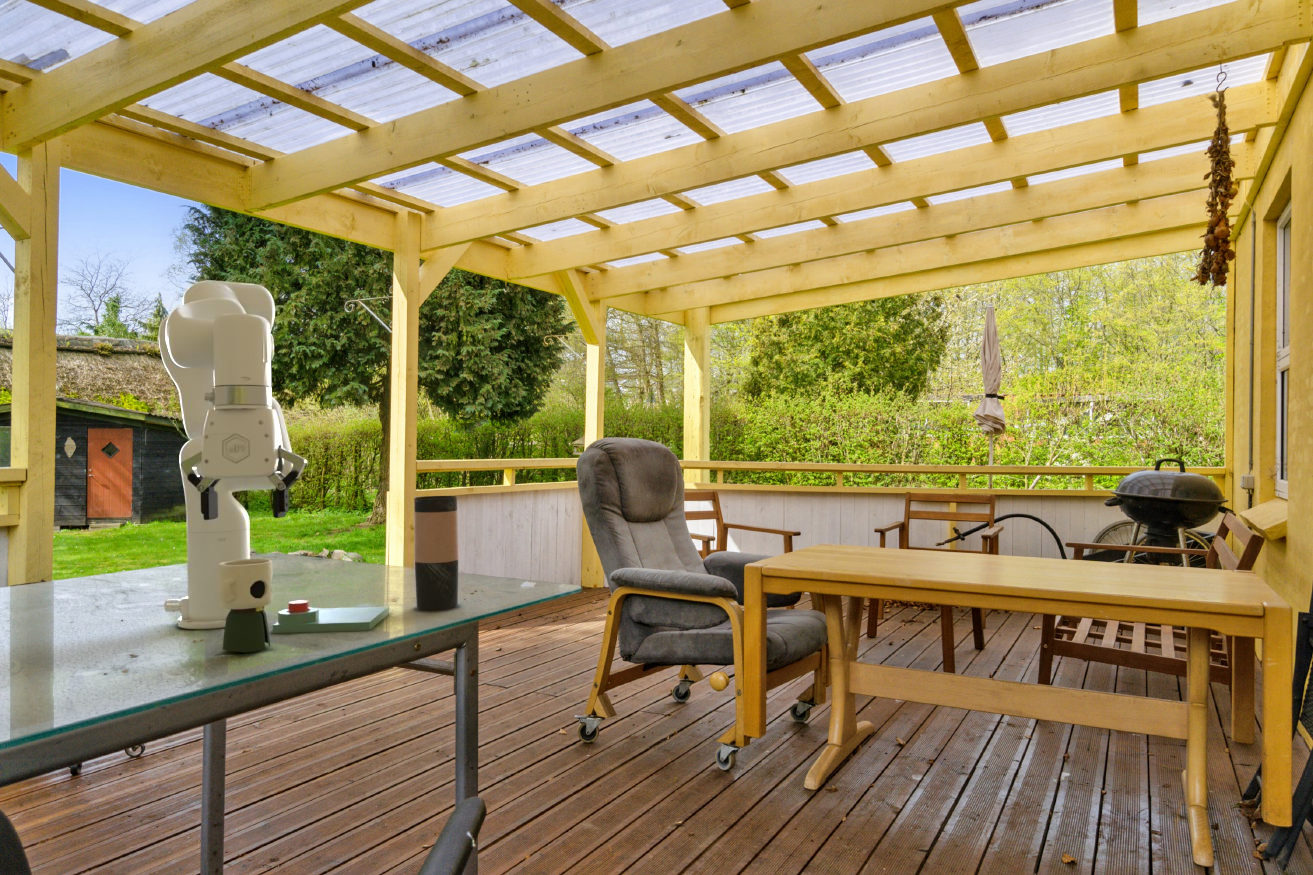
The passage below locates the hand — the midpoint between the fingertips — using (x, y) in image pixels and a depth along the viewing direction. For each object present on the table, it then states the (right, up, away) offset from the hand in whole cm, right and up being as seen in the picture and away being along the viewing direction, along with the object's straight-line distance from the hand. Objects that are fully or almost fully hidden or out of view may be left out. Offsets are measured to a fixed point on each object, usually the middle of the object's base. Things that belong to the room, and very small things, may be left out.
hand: (245, 518), depth 124 cm
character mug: (0, -20, 0) cm, 20 cm away
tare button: (+1, -17, +15) cm, 22 cm away
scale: (+6, -19, +19) cm, 27 cm away
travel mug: (+20, -19, +31) cm, 41 cm away
